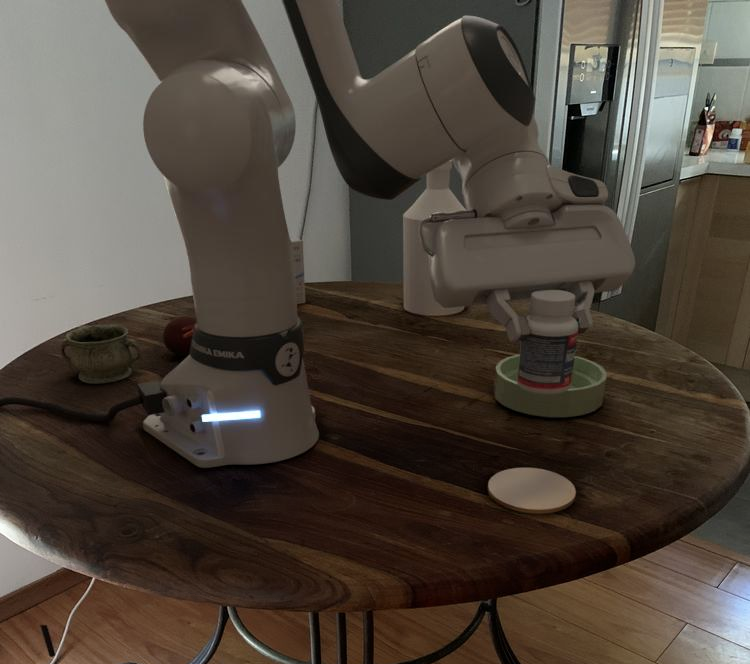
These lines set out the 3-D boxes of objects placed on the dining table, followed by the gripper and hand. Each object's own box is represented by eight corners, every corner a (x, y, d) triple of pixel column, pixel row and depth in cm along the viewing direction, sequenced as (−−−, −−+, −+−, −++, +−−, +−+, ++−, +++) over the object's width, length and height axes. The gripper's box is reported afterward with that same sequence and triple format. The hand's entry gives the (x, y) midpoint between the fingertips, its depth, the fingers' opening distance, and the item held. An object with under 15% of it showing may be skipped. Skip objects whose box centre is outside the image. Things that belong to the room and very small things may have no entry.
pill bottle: (571, 397, 69) (583, 303, 65) (515, 394, 70) (523, 301, 66) (570, 377, 74) (581, 288, 69) (517, 374, 75) (525, 286, 70)
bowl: (474, 402, 97) (475, 374, 95) (524, 372, 107) (527, 345, 105) (574, 429, 90) (578, 399, 88) (619, 394, 99) (624, 366, 97)
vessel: (53, 385, 104) (42, 342, 101) (77, 364, 112) (67, 323, 109) (136, 385, 104) (128, 342, 100) (154, 364, 111) (148, 323, 108)
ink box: (264, 309, 136) (258, 243, 131) (255, 303, 140) (249, 238, 134) (306, 303, 140) (303, 238, 134) (296, 297, 144) (292, 234, 138)
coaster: (471, 495, 76) (471, 491, 76) (513, 463, 82) (513, 459, 82) (551, 523, 71) (551, 519, 71) (589, 487, 77) (590, 483, 77)
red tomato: (198, 344, 119) (193, 307, 116) (229, 357, 114) (224, 318, 111) (156, 354, 115) (150, 316, 112) (186, 369, 109) (181, 329, 106)
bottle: (479, 308, 136) (488, 160, 123) (428, 319, 130) (433, 165, 117) (438, 295, 144) (443, 155, 132) (389, 305, 138) (389, 159, 126)
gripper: (423, 192, 66) (460, 329, 63) (619, 181, 72) (663, 307, 68) (406, 235, 72) (440, 362, 69) (589, 222, 78) (628, 339, 74)
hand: (552, 335), depth 69 cm, fingers closed on pill bottle, 5 cm apart
